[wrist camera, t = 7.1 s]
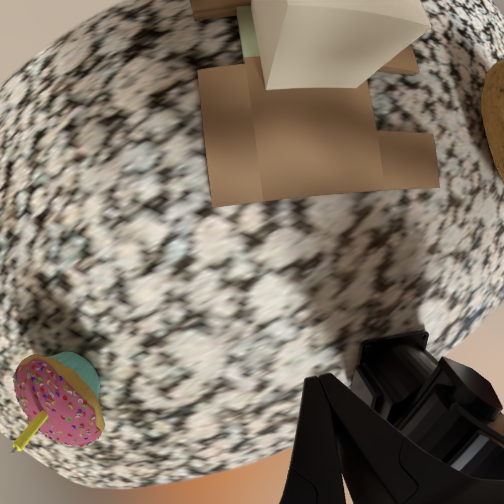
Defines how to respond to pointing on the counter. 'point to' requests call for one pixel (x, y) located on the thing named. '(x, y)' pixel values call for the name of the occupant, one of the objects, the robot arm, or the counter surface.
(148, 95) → the counter surface
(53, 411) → the cupcake
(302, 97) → the lane board
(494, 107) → the potato
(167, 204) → the counter surface
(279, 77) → the block
